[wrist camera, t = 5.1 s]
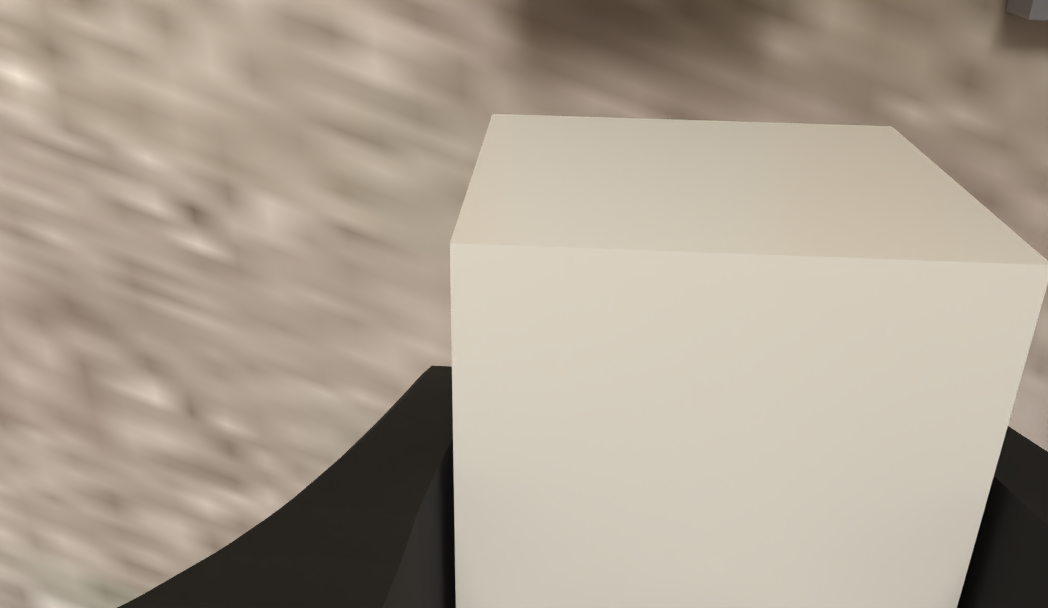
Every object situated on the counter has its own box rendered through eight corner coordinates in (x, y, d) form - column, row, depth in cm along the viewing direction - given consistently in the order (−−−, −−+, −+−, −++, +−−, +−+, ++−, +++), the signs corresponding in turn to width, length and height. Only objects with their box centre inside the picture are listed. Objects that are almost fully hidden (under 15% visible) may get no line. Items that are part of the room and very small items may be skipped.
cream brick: (801, 603, 14) (882, 872, 10) (490, 588, 14) (459, 847, 10) (891, 126, 11) (1052, 264, 7) (492, 114, 11) (450, 243, 7)
